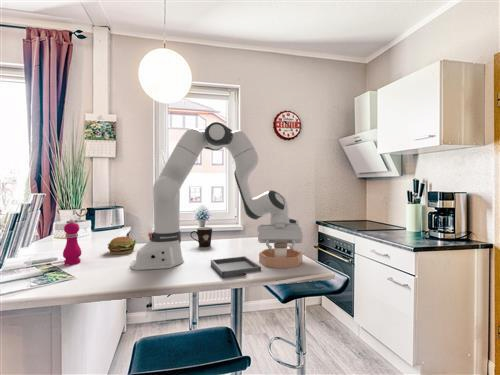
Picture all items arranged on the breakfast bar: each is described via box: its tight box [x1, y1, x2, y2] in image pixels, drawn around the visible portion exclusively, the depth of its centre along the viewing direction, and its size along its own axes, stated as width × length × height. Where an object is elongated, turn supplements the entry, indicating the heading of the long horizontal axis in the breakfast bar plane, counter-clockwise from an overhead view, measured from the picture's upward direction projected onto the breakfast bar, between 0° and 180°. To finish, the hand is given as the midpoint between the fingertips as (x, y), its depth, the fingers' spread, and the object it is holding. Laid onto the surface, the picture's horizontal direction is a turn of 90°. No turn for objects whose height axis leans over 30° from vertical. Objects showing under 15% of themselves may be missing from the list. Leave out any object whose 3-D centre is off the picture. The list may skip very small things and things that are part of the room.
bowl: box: [258, 248, 303, 269], centre depth 129 cm, size 18×18×5 cm
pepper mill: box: [62, 218, 82, 266], centre depth 133 cm, size 7×7×20 cm
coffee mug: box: [189, 226, 213, 248], centre depth 167 cm, size 12×9×10 cm
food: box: [107, 236, 137, 255], centre depth 153 cm, size 14×14×8 cm
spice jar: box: [273, 243, 288, 258], centre depth 129 cm, size 6×6×8 cm
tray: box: [210, 255, 262, 279], centre depth 122 cm, size 16×18×2 cm
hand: (280, 250), depth 129 cm, fingers open, 8 cm apart
